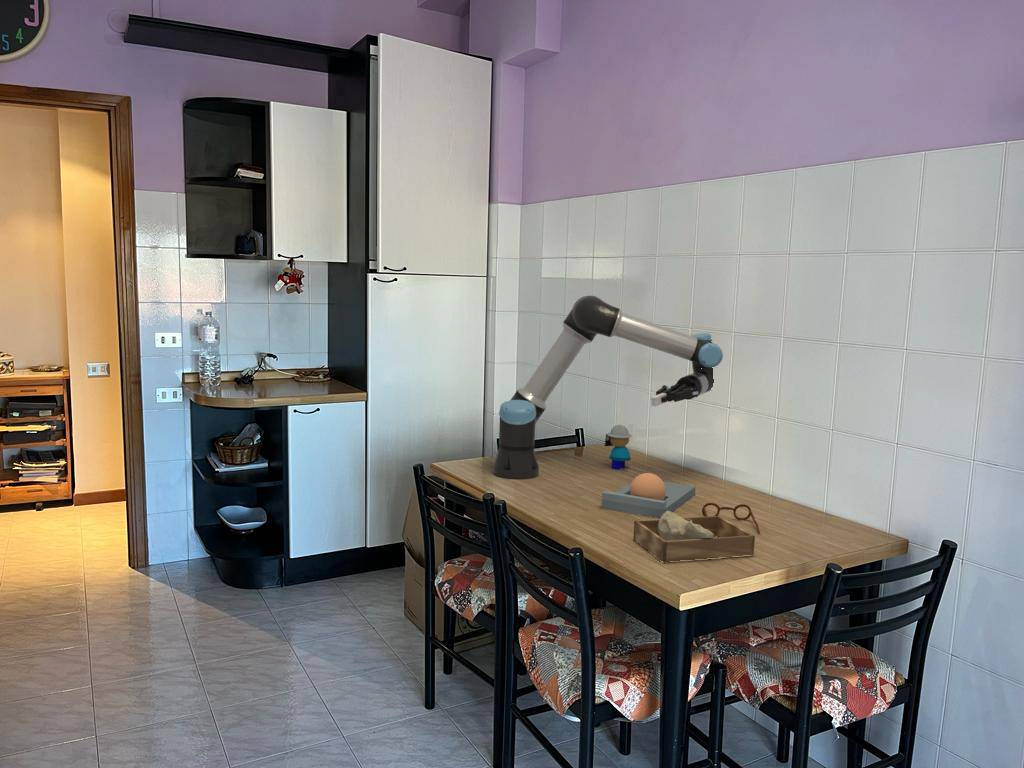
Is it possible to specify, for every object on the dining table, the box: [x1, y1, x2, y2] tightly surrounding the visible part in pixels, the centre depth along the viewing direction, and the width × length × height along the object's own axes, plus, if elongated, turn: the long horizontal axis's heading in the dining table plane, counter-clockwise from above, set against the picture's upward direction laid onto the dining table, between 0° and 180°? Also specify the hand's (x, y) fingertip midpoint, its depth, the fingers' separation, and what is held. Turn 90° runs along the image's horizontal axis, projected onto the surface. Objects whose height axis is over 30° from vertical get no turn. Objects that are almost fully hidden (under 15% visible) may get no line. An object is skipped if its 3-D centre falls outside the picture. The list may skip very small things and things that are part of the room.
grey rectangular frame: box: [601, 481, 696, 519], centre depth 232 cm, size 30×18×4 cm, turn 151°
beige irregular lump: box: [658, 511, 715, 541], centre depth 191 cm, size 15×7×15 cm
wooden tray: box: [632, 515, 756, 562], centre depth 192 cm, size 16×23×5 cm
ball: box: [630, 472, 666, 501], centre depth 225 cm, size 10×10×10 cm
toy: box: [604, 424, 633, 471], centre depth 272 cm, size 8×9×15 cm
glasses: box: [701, 502, 761, 535], centre depth 211 cm, size 13×13×5 cm
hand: (653, 402), depth 242 cm, fingers closed
